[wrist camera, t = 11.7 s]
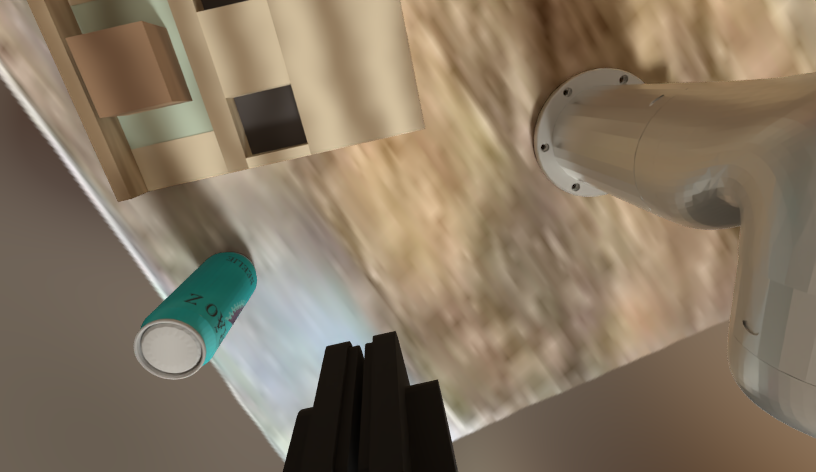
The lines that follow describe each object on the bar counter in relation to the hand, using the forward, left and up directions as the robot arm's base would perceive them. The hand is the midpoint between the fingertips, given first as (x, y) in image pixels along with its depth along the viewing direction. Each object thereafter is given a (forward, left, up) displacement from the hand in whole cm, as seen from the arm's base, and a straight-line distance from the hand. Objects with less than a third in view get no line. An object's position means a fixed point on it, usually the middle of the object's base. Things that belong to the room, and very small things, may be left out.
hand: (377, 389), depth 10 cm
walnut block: (+18, -12, -33) cm, 39 cm away
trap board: (+9, -12, -35) cm, 38 cm away
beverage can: (+18, +8, -35) cm, 40 cm away
